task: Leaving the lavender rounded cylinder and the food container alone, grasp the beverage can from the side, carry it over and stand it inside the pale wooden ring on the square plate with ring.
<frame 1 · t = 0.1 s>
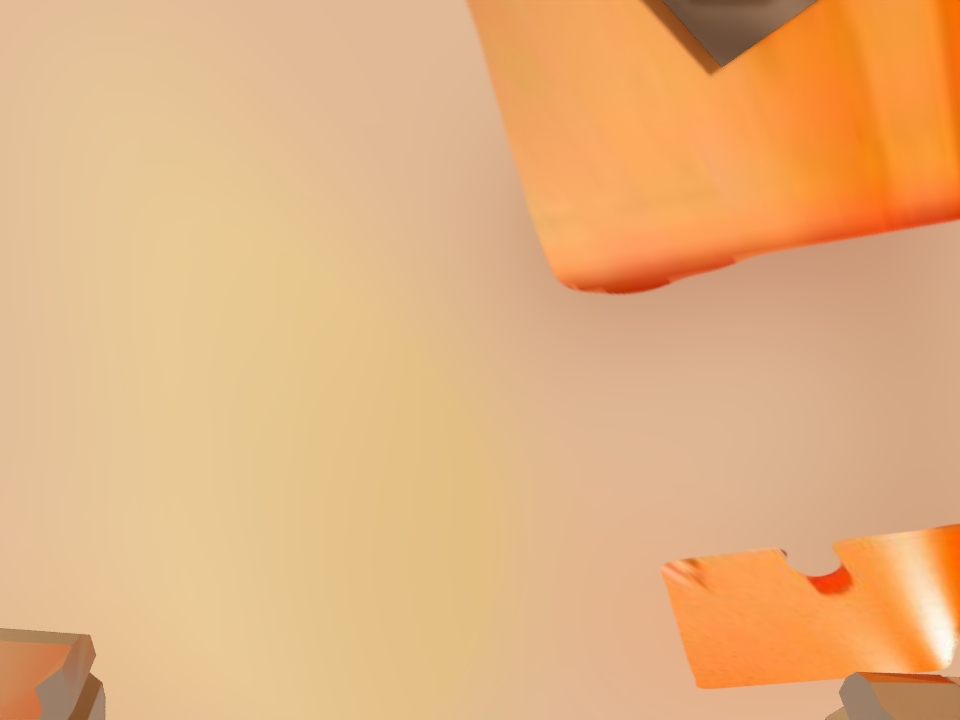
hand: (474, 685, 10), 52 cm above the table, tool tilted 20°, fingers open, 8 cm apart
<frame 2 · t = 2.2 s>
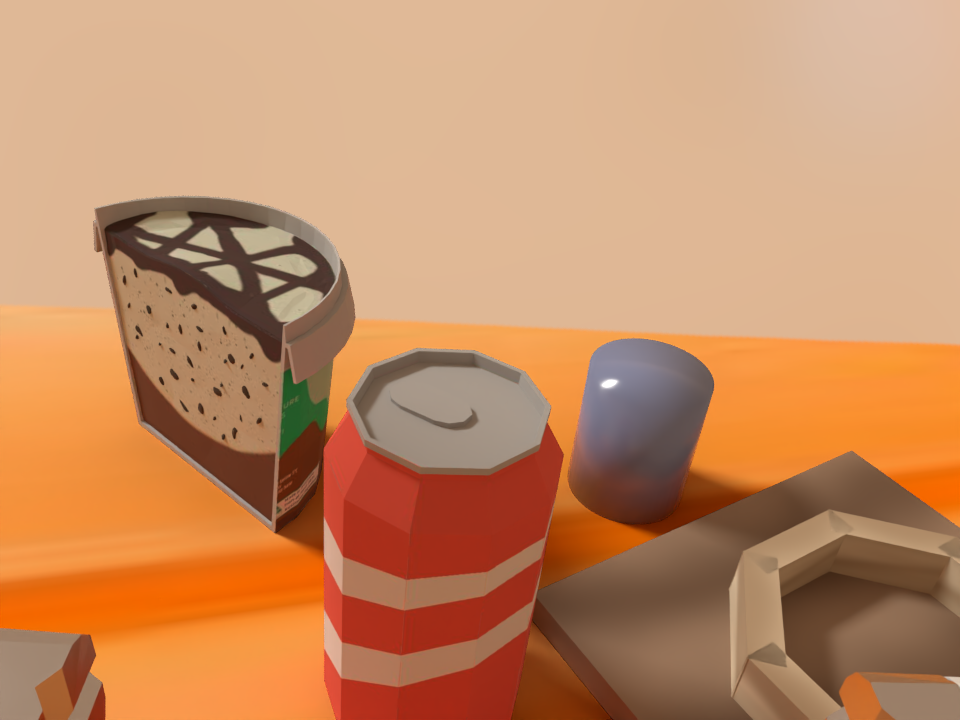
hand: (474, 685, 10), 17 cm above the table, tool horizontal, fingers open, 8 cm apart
lavender rounded cylinder: (623, 483, 39), on the table
beverage can: (422, 697, 29), on the table
food container: (262, 446, 39), on the table
square plate with ring: (887, 701, 31), on the table
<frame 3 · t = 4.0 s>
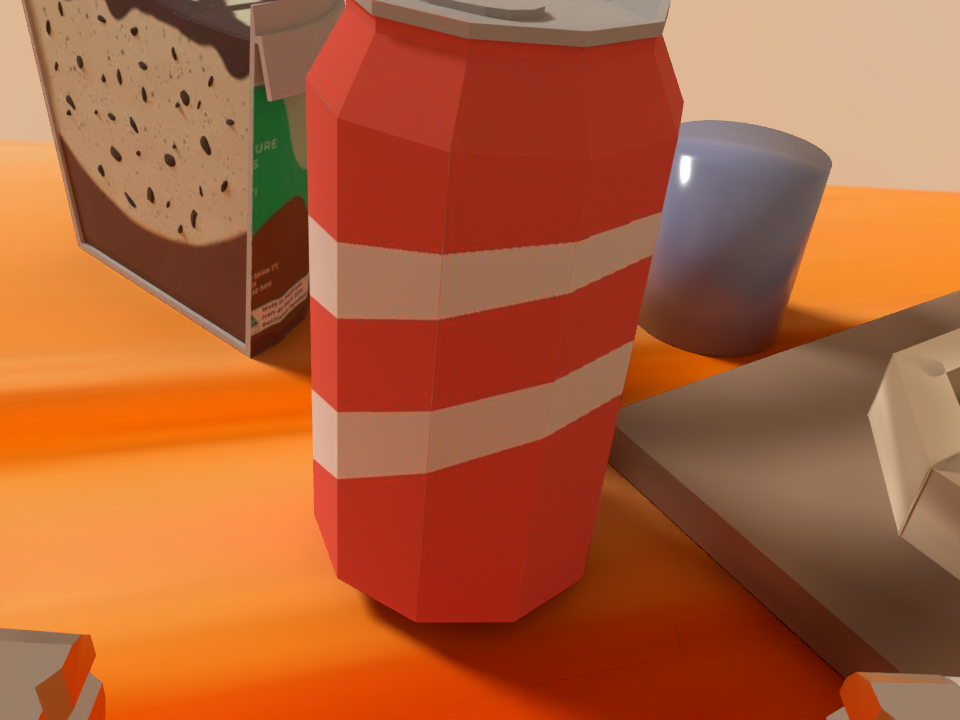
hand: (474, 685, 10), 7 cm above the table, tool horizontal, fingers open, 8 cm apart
lavender rounded cylinder: (703, 317, 30), on the table
beverage can: (453, 543, 21), on the table
food container: (237, 273, 30), on the table
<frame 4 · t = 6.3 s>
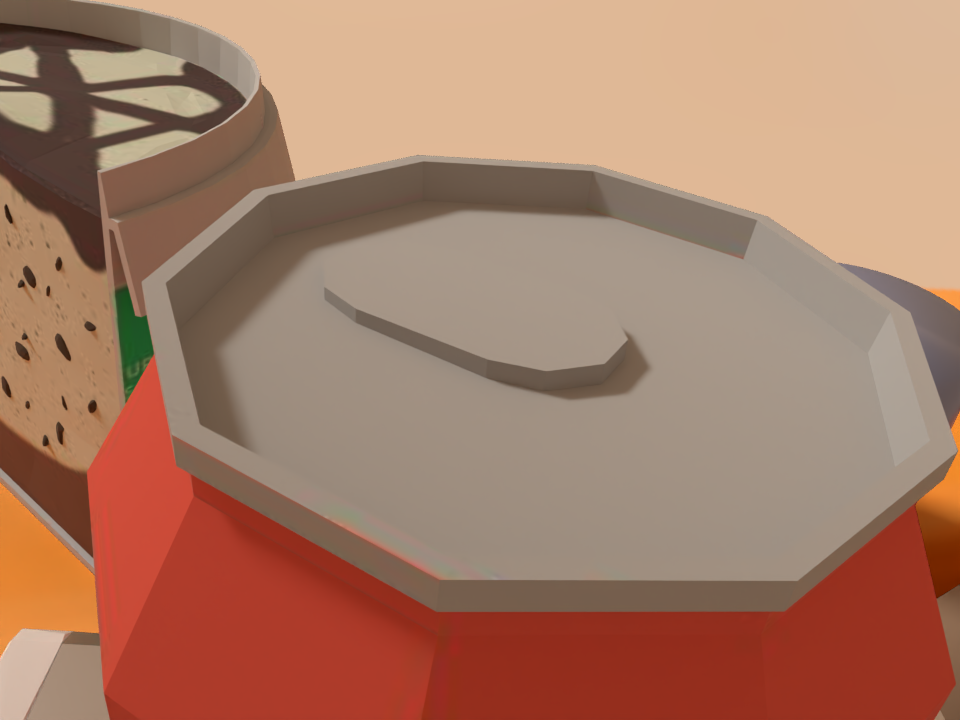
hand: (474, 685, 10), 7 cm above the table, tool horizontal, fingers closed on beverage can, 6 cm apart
lavender rounded cylinder: (783, 519, 22), on the table
food container: (150, 457, 22), on the table
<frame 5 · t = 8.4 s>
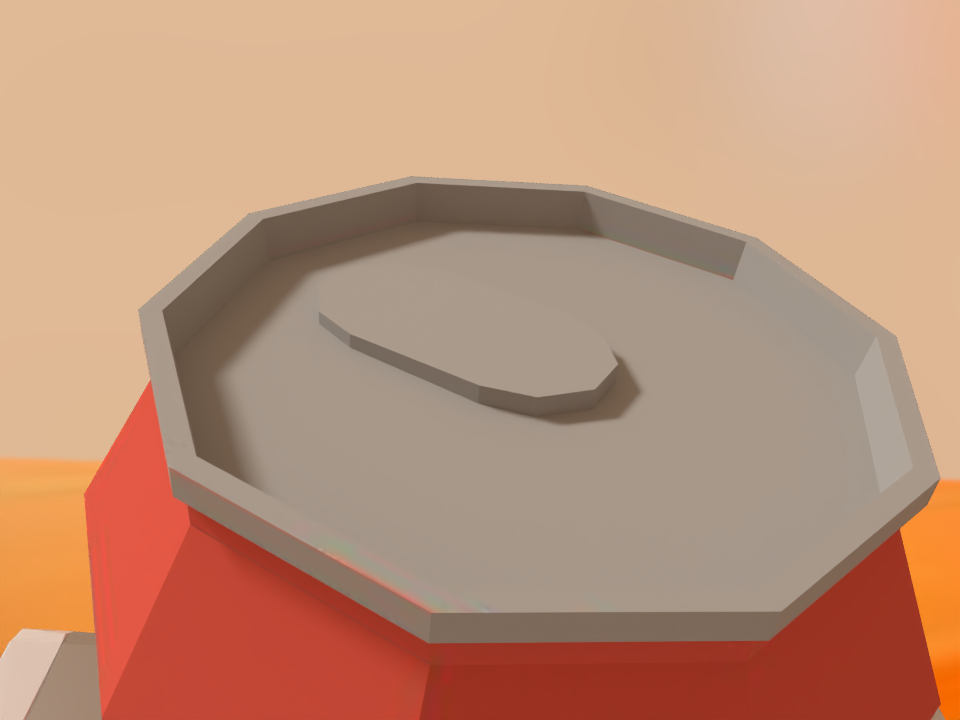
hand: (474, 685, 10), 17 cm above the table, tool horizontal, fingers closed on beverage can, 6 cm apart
when the fingers open (9 cm above the table, at t = 10.9 s): beverage can drops 1 cm, resting on square plate with ring.
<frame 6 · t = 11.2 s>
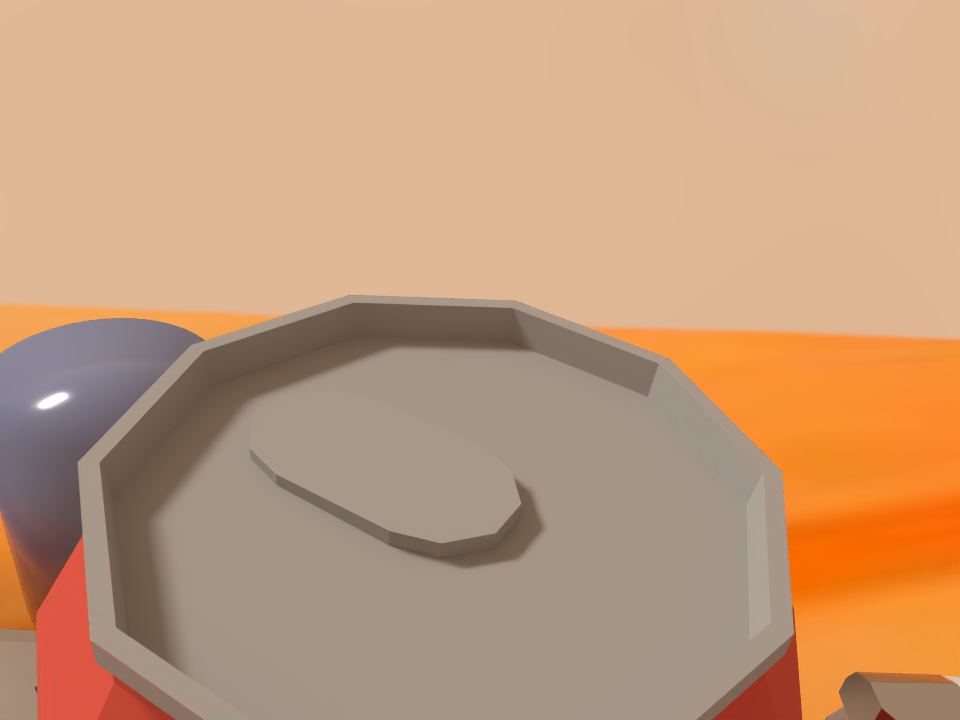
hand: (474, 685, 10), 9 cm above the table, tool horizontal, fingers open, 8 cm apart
lavender rounded cylinder: (135, 573, 22), on the table
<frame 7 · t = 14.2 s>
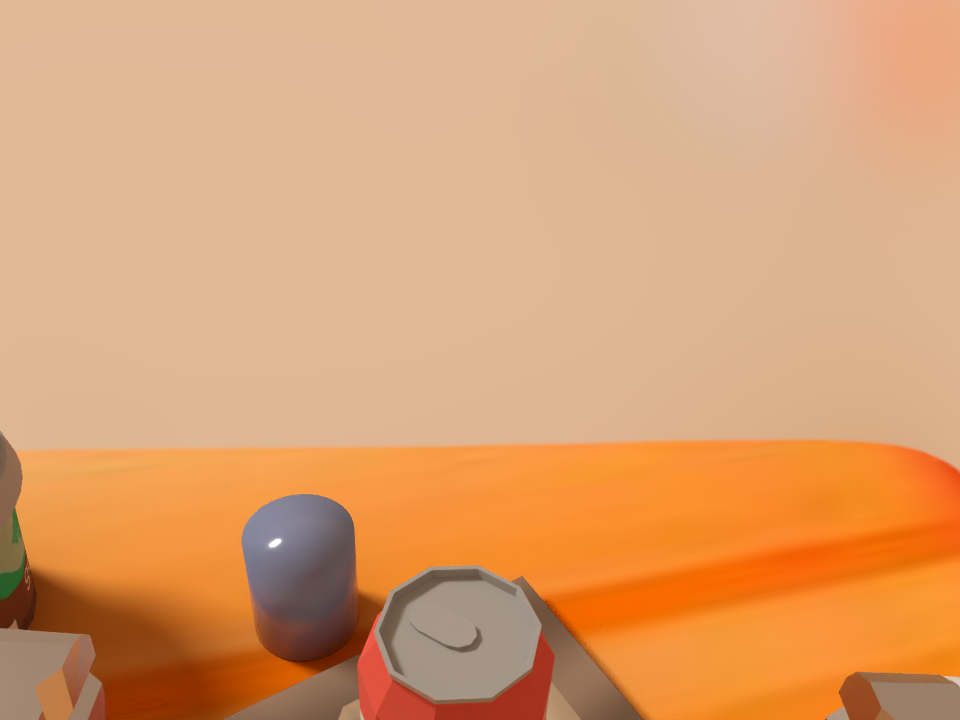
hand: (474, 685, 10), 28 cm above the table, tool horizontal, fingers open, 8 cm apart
lavender rounded cylinder: (307, 618, 44), on the table
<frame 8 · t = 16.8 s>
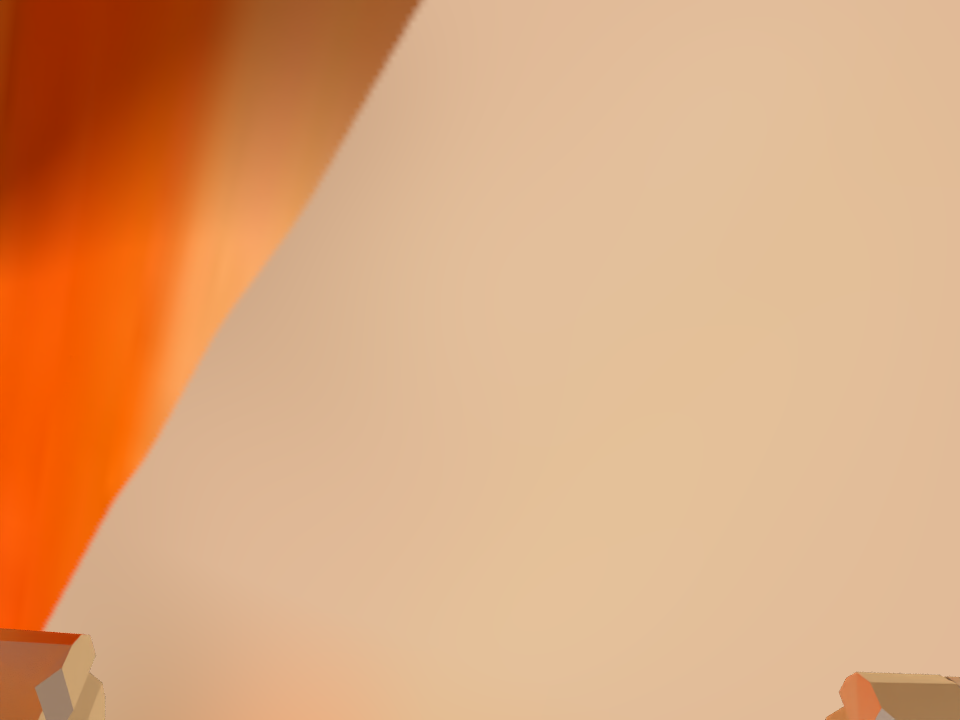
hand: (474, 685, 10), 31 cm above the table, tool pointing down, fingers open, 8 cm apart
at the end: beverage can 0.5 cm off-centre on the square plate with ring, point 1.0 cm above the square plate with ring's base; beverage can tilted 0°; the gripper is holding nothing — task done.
